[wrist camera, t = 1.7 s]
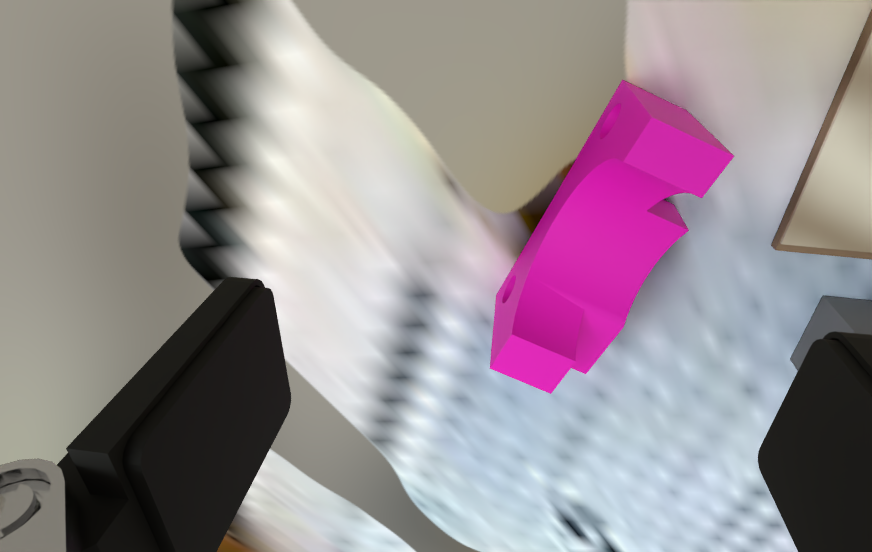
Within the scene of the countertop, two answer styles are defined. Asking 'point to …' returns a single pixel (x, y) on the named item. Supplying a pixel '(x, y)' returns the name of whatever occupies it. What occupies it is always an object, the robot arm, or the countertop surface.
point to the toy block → (601, 237)
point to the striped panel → (837, 172)
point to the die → (834, 322)
